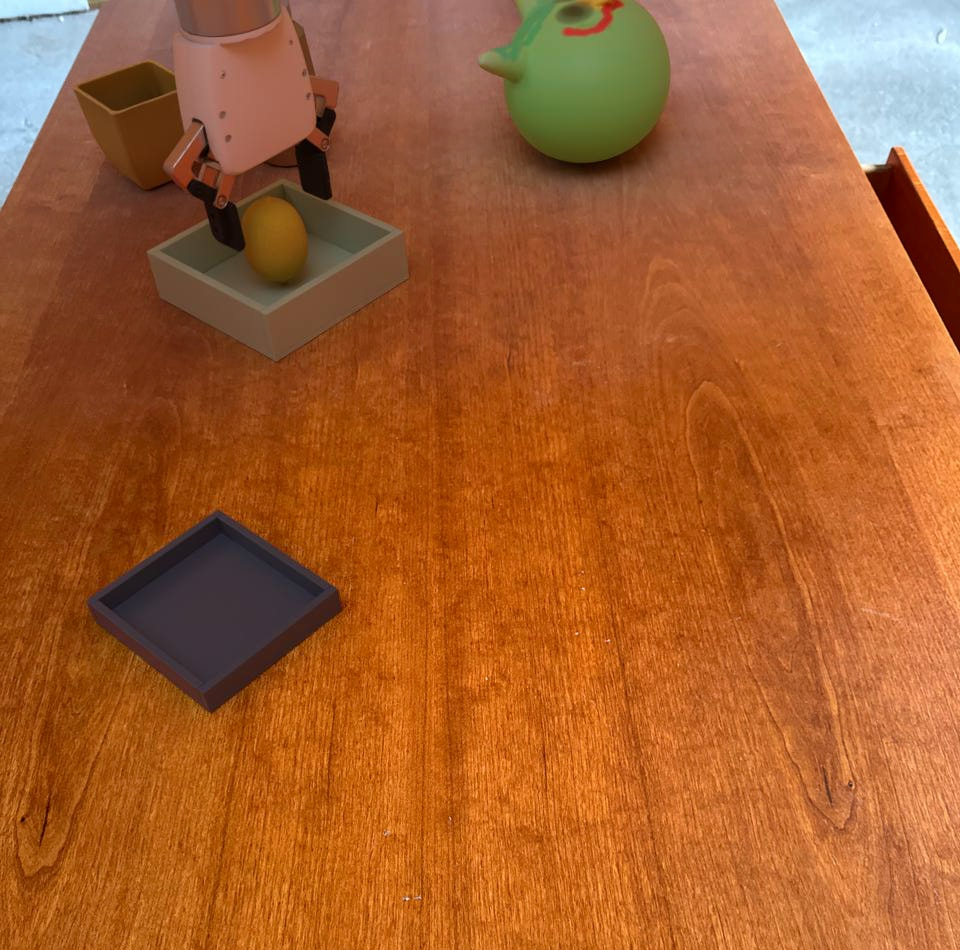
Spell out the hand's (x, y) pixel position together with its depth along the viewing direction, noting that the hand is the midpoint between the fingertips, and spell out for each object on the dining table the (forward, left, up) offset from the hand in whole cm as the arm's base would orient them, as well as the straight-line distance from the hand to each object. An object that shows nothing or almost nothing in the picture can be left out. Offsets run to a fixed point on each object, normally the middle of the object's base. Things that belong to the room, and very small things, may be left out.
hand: (275, 219), depth 99 cm
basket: (0, 0, -6) cm, 6 cm away
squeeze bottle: (-18, +17, -7) cm, 26 cm away
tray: (+26, -29, -6) cm, 40 cm away
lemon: (0, 0, -6) cm, 6 cm away
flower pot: (-26, +6, -7) cm, 28 cm away
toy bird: (+5, +35, -7) cm, 36 cm away
